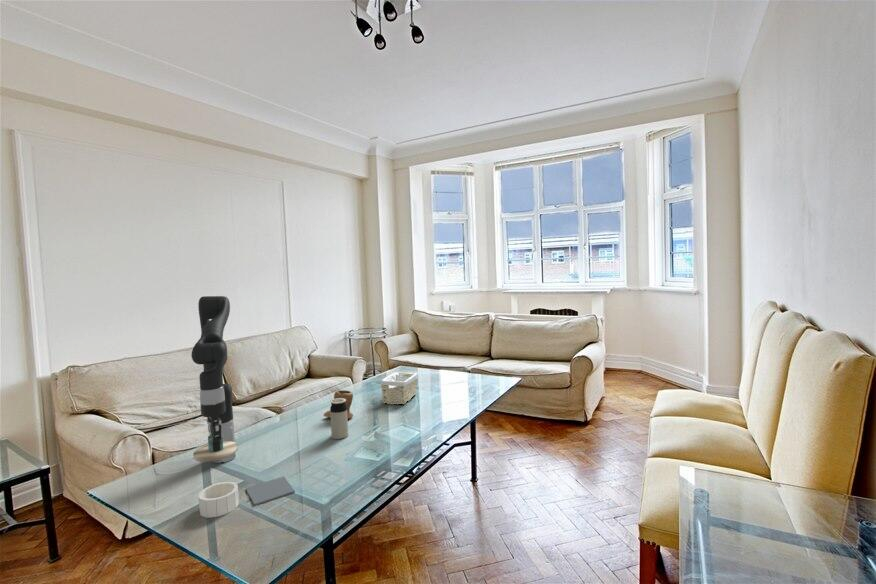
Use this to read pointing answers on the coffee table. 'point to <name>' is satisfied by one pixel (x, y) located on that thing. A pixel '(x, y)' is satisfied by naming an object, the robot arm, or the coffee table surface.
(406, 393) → the storage basket
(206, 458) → the lid
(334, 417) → the travel mug
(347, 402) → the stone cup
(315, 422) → the coffee table surface
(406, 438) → the coffee table surface
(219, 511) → the bowl
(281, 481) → the mat
